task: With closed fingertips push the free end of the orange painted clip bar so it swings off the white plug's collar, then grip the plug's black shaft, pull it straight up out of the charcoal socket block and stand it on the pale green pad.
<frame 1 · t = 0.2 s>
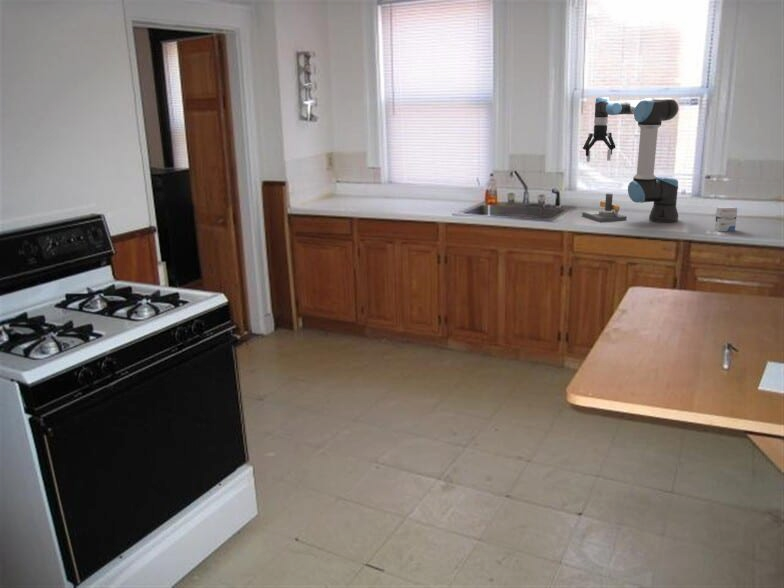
hand: (598, 161, 423), 28 cm above the kitchen counter, fingers open, 13 cm apart
clip: (609, 206, 395), point 7 cm above the kitchen counter, hinge at 0.0°
ink box: (724, 230, 360), on the kitchen counter
socket board: (603, 218, 397), on the kitchen counter
plug: (607, 215, 393), point 2 cm above the kitchen counter, touching socket board
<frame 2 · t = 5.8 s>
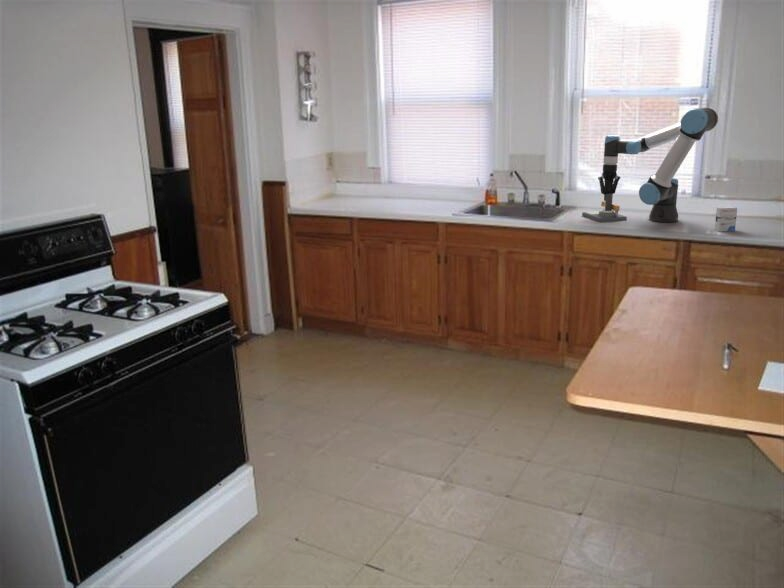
hand: (606, 206, 397), 6 cm above the kitchen counter, fingers closed
clip: (610, 206, 395), point 7 cm above the kitchen counter, hinge at -3.1°, touching gripper
everything else where it was.
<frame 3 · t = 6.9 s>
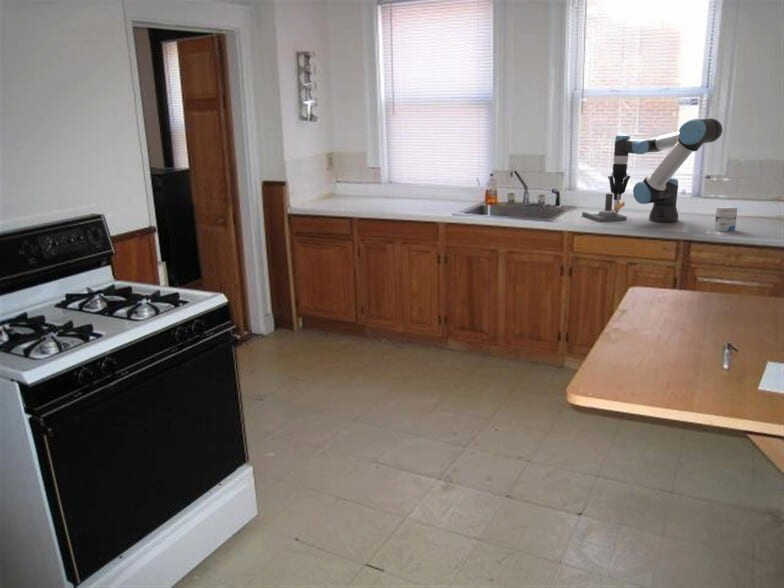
hand: (616, 205, 398), 6 cm above the kitchen counter, fingers closed
clip: (619, 206, 395), point 7 cm above the kitchen counter, hinge at -42.7°, touching gripper
everything else where it was.
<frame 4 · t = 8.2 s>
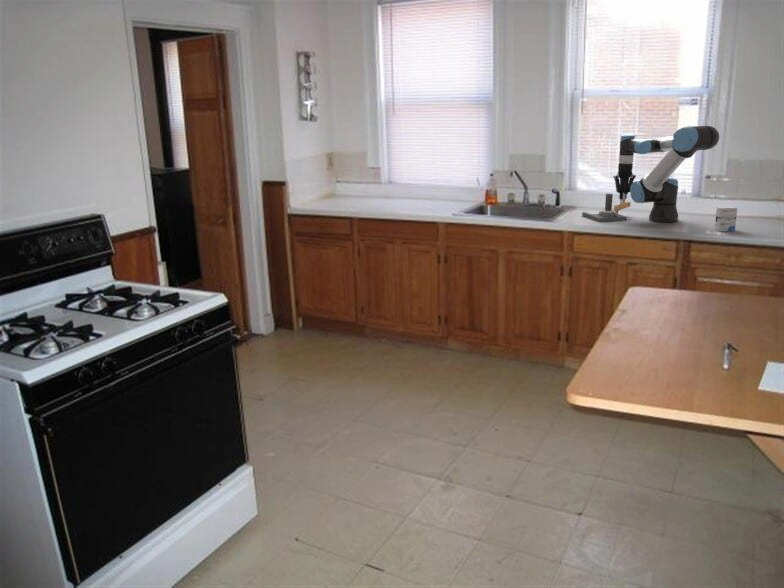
hand: (622, 205, 399), 6 cm above the kitchen counter, fingers closed
clip: (622, 206, 394), point 7 cm above the kitchen counter, hinge at -54.5°, touching gripper
everything else where it was.
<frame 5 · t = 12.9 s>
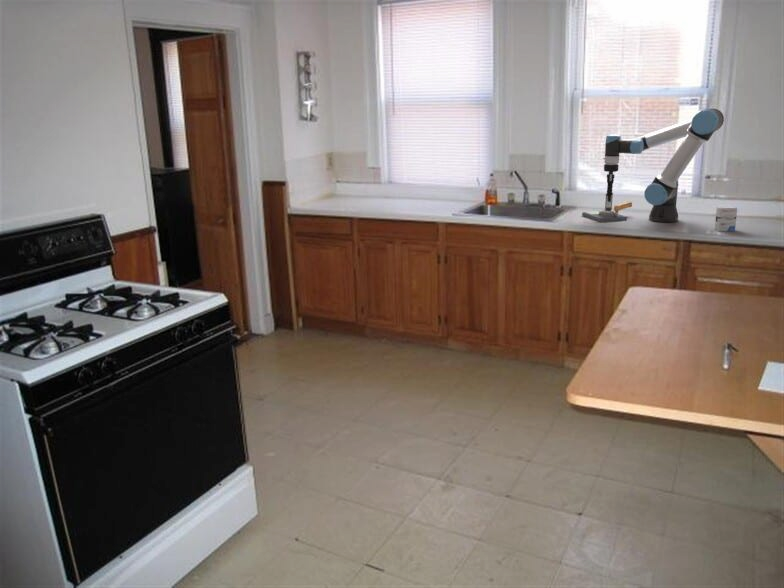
hand: (608, 206, 392), 7 cm above the kitchen counter, fingers closed on plug, 3 cm apart
clip: (623, 206, 394), point 7 cm above the kitchen counter, hinge at -58.0°
plug: (607, 215, 393), point 2 cm above the kitchen counter, touching gripper
everything else where it was.
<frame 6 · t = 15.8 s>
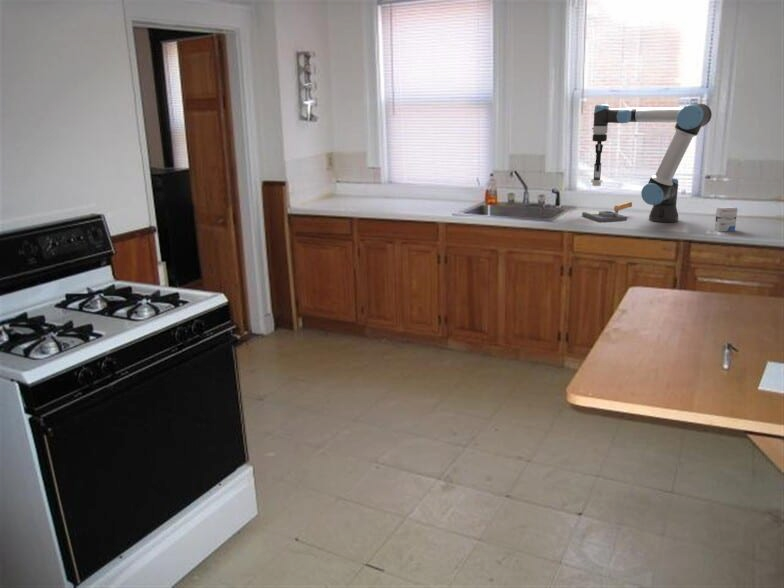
hand: (597, 176, 395), 23 cm above the kitchen counter, fingers closed on plug, 3 cm apart
plug: (596, 185, 396), point 18 cm above the kitchen counter, touching gripper
everything else where it was.
when the fingers open (9 cm above the kitchen counter, at t = 18.6 s): plug drops 1 cm, resting on socket board.
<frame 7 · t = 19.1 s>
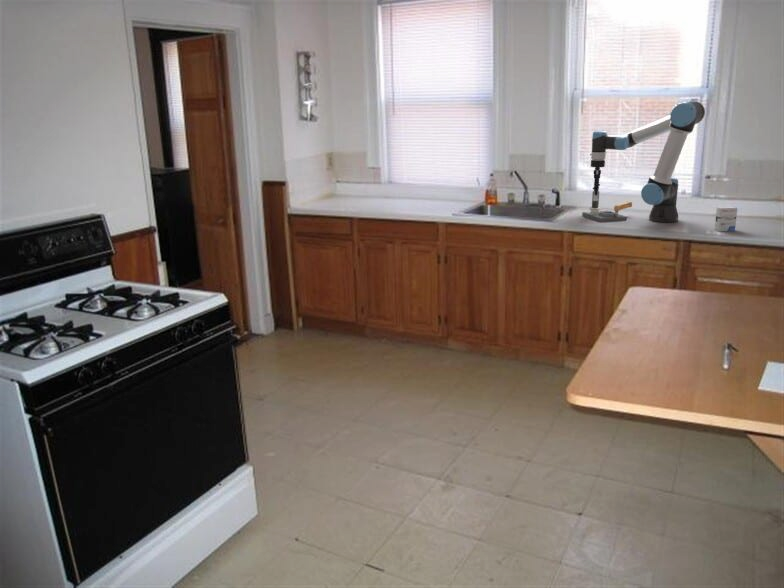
hand: (595, 199, 398), 10 cm above the kitchen counter, fingers open, 11 cm apart
plug: (594, 212, 401), point 2 cm above the kitchen counter, touching socket board
everything else where it was.
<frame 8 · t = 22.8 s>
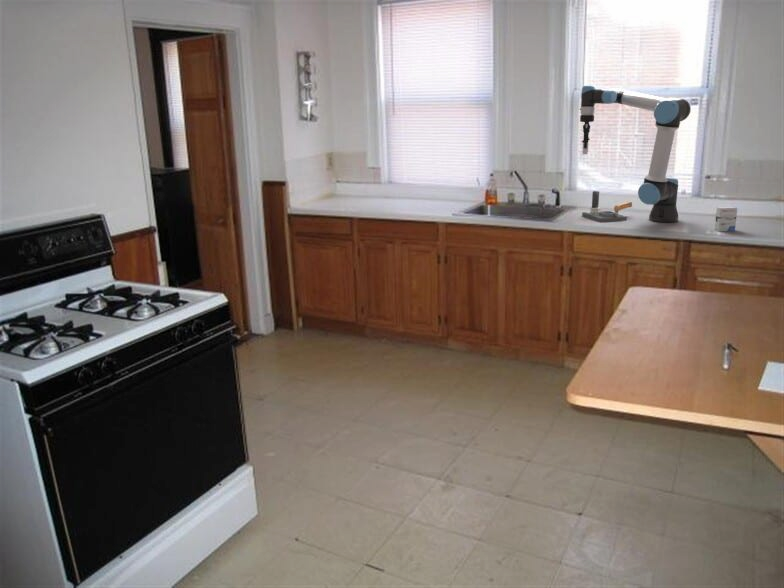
hand: (585, 153, 401), 35 cm above the kitchen counter, fingers open, 13 cm apart
nothing on the kitchen counter moved.
at the end: clip at -58° (first picture: +0°); plug 0.1 cm from the target spot on the socket board, point 2.3 cm above the socket board's base; plug tilted 1° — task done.
